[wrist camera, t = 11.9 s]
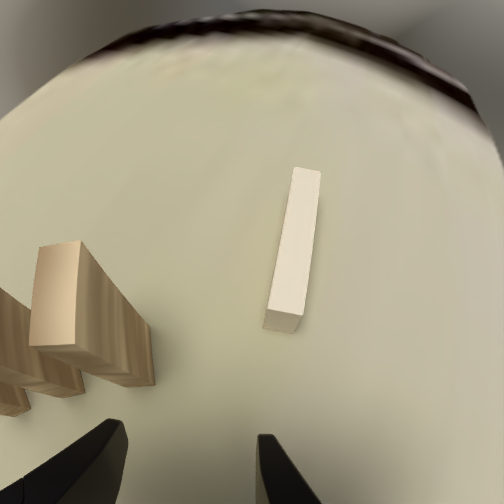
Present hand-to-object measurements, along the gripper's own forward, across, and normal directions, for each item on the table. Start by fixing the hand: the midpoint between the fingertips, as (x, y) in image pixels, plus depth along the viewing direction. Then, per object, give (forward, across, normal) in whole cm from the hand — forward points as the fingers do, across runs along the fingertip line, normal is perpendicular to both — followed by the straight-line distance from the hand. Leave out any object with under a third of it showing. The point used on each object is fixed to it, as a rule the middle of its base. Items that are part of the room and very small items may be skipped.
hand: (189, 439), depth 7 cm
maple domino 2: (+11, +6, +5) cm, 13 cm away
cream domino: (+12, -4, +2) cm, 12 cm away
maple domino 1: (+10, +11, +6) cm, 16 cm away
